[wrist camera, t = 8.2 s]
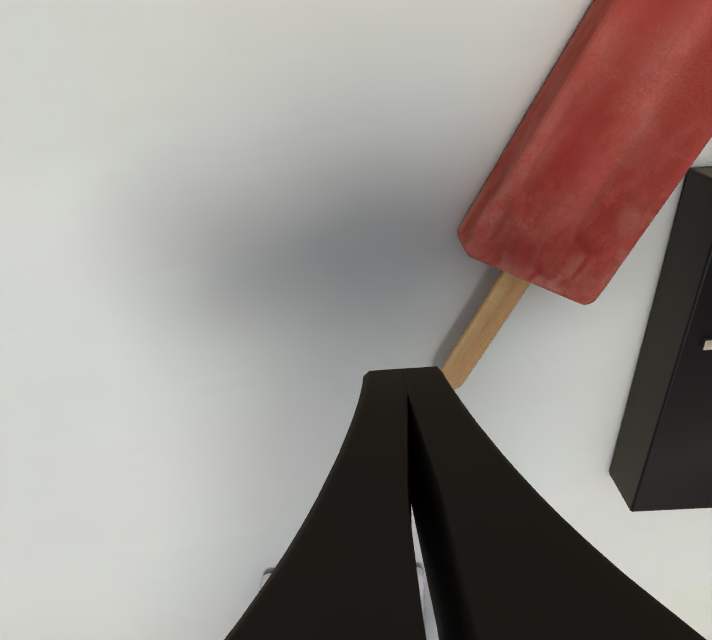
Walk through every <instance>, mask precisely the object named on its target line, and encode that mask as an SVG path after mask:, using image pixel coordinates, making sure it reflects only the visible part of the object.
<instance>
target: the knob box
mask: <svg viewBox="0 0 712 640" xmlns="http://www.w3.org/2000/svg"><path fill="white" fill-rule="evenodd" d="M610 475H611V477H612V479H613V481H614V483H615V484H616V486H617V488H618V490H619V491H620V493H621V495H622V497H623V498H624V500H625V502H626V504H627V506H628V507H629V509H630V511H632V512H635V511H655V510H675V509H695V508H712V167H705V168H692V169H689V171H688V174H687V178H686V182H685V185H684V189H683V193H682V197H681V201H680V205H679V209H678V212H677V216H676V220H675V224H674V228H673V232H672V235H671V239H670V243H669V247H668V251H667V255H666V259H665V262H664V266H663V270H662V274H661V278H660V282H659V285H658V289H657V293H656V297H655V301H654V305H653V309H652V312H651V316H650V320H649V324H648V328H647V332H646V335H645V339H644V343H643V347H642V351H641V355H640V359H639V362H638V366H637V370H636V374H635V378H634V382H633V385H632V389H631V393H630V397H629V401H628V405H627V409H626V412H625V416H624V420H623V424H622V428H621V432H620V435H619V439H618V443H617V447H616V451H615V455H614V459H613V462H612V466H611V470H610Z"/></svg>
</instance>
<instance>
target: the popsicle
mask: <svg viewBox="0 0 712 640" xmlns="http://www.w3.org/2000/svg"><path fill="white" fill-rule="evenodd" d="M711 137H712V0H594V2H593V3H592V5H591V7H590V8H589V10H588V12H587V13H586V15H585V17H584V18H583V20H582V22H581V23H580V25H579V27H578V28H577V30H576V32H575V33H574V35H573V37H572V38H571V40H570V42H569V43H568V45H567V47H566V49H565V50H564V52H563V54H562V55H561V57H560V59H559V60H558V62H557V64H556V65H555V67H554V69H553V70H552V72H551V74H550V75H549V77H548V79H547V80H546V82H545V84H544V85H543V87H542V89H541V90H540V92H539V94H538V96H537V97H536V99H535V101H534V102H533V104H532V106H531V107H530V109H529V111H528V112H527V114H526V116H525V117H524V119H523V121H522V123H521V124H520V126H519V128H518V129H517V131H516V133H515V134H514V136H513V138H512V139H511V141H510V143H509V145H508V146H507V148H506V150H505V151H504V153H503V155H502V156H501V158H500V160H499V162H498V163H497V165H496V167H495V168H494V170H493V172H492V173H491V175H490V176H489V178H488V180H487V181H486V183H485V185H484V186H483V188H482V190H481V192H480V193H479V195H478V197H477V198H476V200H475V201H474V203H473V205H472V206H471V208H470V209H469V211H468V213H467V215H466V216H465V218H464V220H463V222H462V224H461V225H460V227H459V229H458V237H459V240H460V242H461V244H462V246H463V247H464V249H465V251H466V252H467V254H468V256H470V257H472V258H474V259H476V260H479V261H481V262H483V263H486V264H488V265H490V266H493V267H495V268H497V269H500V270H502V273H501V274H500V276H499V278H498V279H497V281H496V282H495V284H494V285H493V287H492V289H491V290H490V292H489V293H488V295H487V297H486V298H485V300H484V301H483V303H482V304H481V306H480V308H479V309H478V311H477V312H476V314H475V316H474V317H473V319H472V320H471V322H470V323H469V325H468V327H467V328H466V330H465V331H464V333H463V335H462V336H461V338H460V339H459V341H458V342H457V344H456V346H455V347H454V349H453V350H452V352H451V354H450V355H449V357H448V358H447V360H446V361H445V363H444V365H443V366H442V368H441V369H440V370H441V371H442V372H443V374H444V375H445V377H446V379H447V380H448V382H449V384H450V385H451V387H452V388H453V390H454V389H456V388H458V387H459V386H461V385H462V384H463V383H464V381H465V380H466V378H467V377H468V375H469V374H470V372H471V371H472V369H473V368H474V366H475V365H476V363H477V362H478V360H479V359H480V358H481V356H482V355H483V353H484V352H485V350H486V349H487V347H488V346H489V344H490V343H491V341H492V340H493V338H494V337H495V335H496V334H497V332H498V331H499V329H500V328H501V326H502V325H503V323H504V322H505V320H506V319H507V317H508V316H509V314H510V313H511V311H512V310H513V308H514V307H515V305H516V304H517V302H518V301H519V299H520V298H521V296H522V295H523V293H524V292H525V290H526V289H527V287H528V286H529V284H530V283H533V284H535V285H537V286H540V287H542V288H545V289H547V290H549V291H552V292H554V293H556V294H559V295H561V296H563V297H566V298H568V299H570V300H573V301H575V302H577V303H580V304H583V305H587V304H590V303H592V302H594V301H595V300H596V299H597V298H598V296H599V295H600V294H601V292H602V291H603V290H604V288H605V287H606V286H607V284H608V283H609V281H610V280H611V278H612V277H613V276H614V274H615V273H616V271H617V270H618V268H619V267H620V265H621V264H622V263H623V261H624V260H625V258H626V257H627V256H628V254H629V253H630V251H631V250H632V248H633V247H634V246H635V244H636V243H637V241H638V240H639V238H640V237H641V236H642V234H643V233H644V231H645V230H646V229H647V227H648V226H649V224H650V223H651V222H652V220H653V219H654V217H655V216H656V215H657V213H658V212H659V210H660V209H661V207H662V206H663V205H664V203H665V202H666V200H667V199H668V198H669V196H670V195H671V193H672V192H673V191H674V189H675V188H676V186H677V185H678V183H679V182H680V181H681V179H682V178H683V176H684V175H685V174H686V172H687V171H688V169H689V168H690V167H691V165H692V164H693V162H694V161H695V160H696V158H697V157H698V155H699V154H700V152H701V151H702V150H703V148H704V147H705V145H706V144H707V143H708V141H709V140H710V138H711Z"/></svg>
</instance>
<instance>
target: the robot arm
mask: <svg viewBox="0 0 712 640" xmlns="http://www.w3.org/2000/svg"><path fill="white" fill-rule="evenodd" d="M411 504H412V509H413V514H414V519H415V524H416V529H417V533H418V538H419V543H420V548H421V553H422V558H423V562H424V567H425V572H426V577H427V582H428V586H429V591H430V596H431V601H432V605H433V610H434V615H435V620H436V625H437V630H438V636H439V640H706V639H705V638H704V637H702V636H701V635H700V634H699V633H697V632H696V631H695V630H694V629H692V628H691V627H690V626H689V625H687V624H686V623H685V622H684V621H682V620H681V619H680V618H679V617H677V616H676V615H675V614H674V613H672V612H671V611H670V610H669V609H667V608H666V607H665V606H664V605H662V604H661V603H660V602H659V601H657V600H656V599H655V598H654V597H652V596H651V595H650V594H649V593H648V592H646V591H645V590H644V589H643V588H641V587H640V586H639V585H638V584H636V583H635V582H634V581H633V580H631V579H630V578H629V577H628V576H626V575H625V574H624V573H623V572H622V571H621V570H619V569H618V568H617V567H616V566H615V565H614V564H613V563H611V562H610V561H609V560H608V559H607V558H606V557H605V556H604V555H602V554H601V553H600V552H599V551H598V550H597V549H596V548H595V547H593V546H592V545H591V544H590V543H589V542H588V541H587V540H586V539H585V538H583V537H582V536H581V535H580V534H579V533H578V532H577V531H576V530H575V529H574V528H573V527H572V526H571V525H570V524H569V523H568V522H567V521H565V520H564V519H563V518H562V517H561V516H560V515H559V514H558V513H557V512H556V511H555V510H554V509H553V508H552V507H551V506H550V505H549V504H548V503H547V502H546V501H545V500H544V499H543V498H542V497H541V496H540V495H539V494H538V493H537V492H536V490H535V489H534V488H533V487H532V486H531V485H530V484H529V483H528V482H527V481H526V480H525V479H524V477H523V476H522V475H521V474H520V473H519V472H518V471H517V470H516V469H515V468H514V467H513V465H512V464H511V463H510V462H509V461H508V460H507V459H506V457H505V456H504V455H503V454H502V453H501V452H500V450H499V449H498V448H497V447H496V445H495V444H494V443H493V442H492V441H491V439H490V438H489V437H488V436H487V434H486V433H485V432H484V431H483V429H482V428H481V427H480V426H479V424H478V423H477V422H476V421H475V419H474V418H473V417H472V415H471V414H470V413H469V411H468V410H467V408H466V407H465V406H464V404H463V403H462V402H461V400H460V399H459V397H458V396H457V394H456V393H455V391H454V390H453V388H452V387H451V385H450V384H449V382H448V380H447V379H446V377H445V375H444V374H443V372H442V371H441V370H440V369H439V368H438V367H421V368H406V369H391V370H376V371H369V372H368V373H367V374H365V375H364V376H363V384H362V389H361V394H360V397H359V401H358V404H357V407H356V410H355V413H354V416H353V419H352V422H351V425H350V427H349V430H348V432H347V434H346V437H345V439H344V442H343V444H342V447H341V449H340V452H339V454H338V456H337V458H336V461H335V463H334V465H333V467H332V469H331V471H330V473H329V475H328V477H327V479H326V481H325V483H324V485H323V487H322V489H321V491H320V493H319V495H318V497H317V499H316V501H315V503H314V504H313V506H312V508H311V510H310V512H309V514H308V515H307V517H306V519H305V521H304V522H303V524H302V526H301V528H300V529H299V531H298V533H297V534H296V536H295V537H294V539H293V541H292V542H291V544H290V546H289V547H288V549H287V551H286V552H285V554H284V555H283V557H282V558H281V560H280V561H279V563H278V564H277V566H276V567H275V569H274V570H273V572H272V573H267V574H265V575H264V576H263V577H262V581H261V590H260V591H259V593H258V594H257V596H256V597H255V599H254V600H253V601H252V603H251V604H250V606H249V607H248V609H247V610H246V611H245V613H244V614H243V615H242V617H241V618H240V620H239V621H238V622H237V624H236V625H235V626H234V628H233V629H232V630H231V631H230V633H229V634H228V635H227V637H226V638H225V639H224V640H426V634H425V627H424V573H423V570H422V569H421V568H419V567H416V560H415V552H414V545H413V537H412V527H411Z"/></svg>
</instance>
